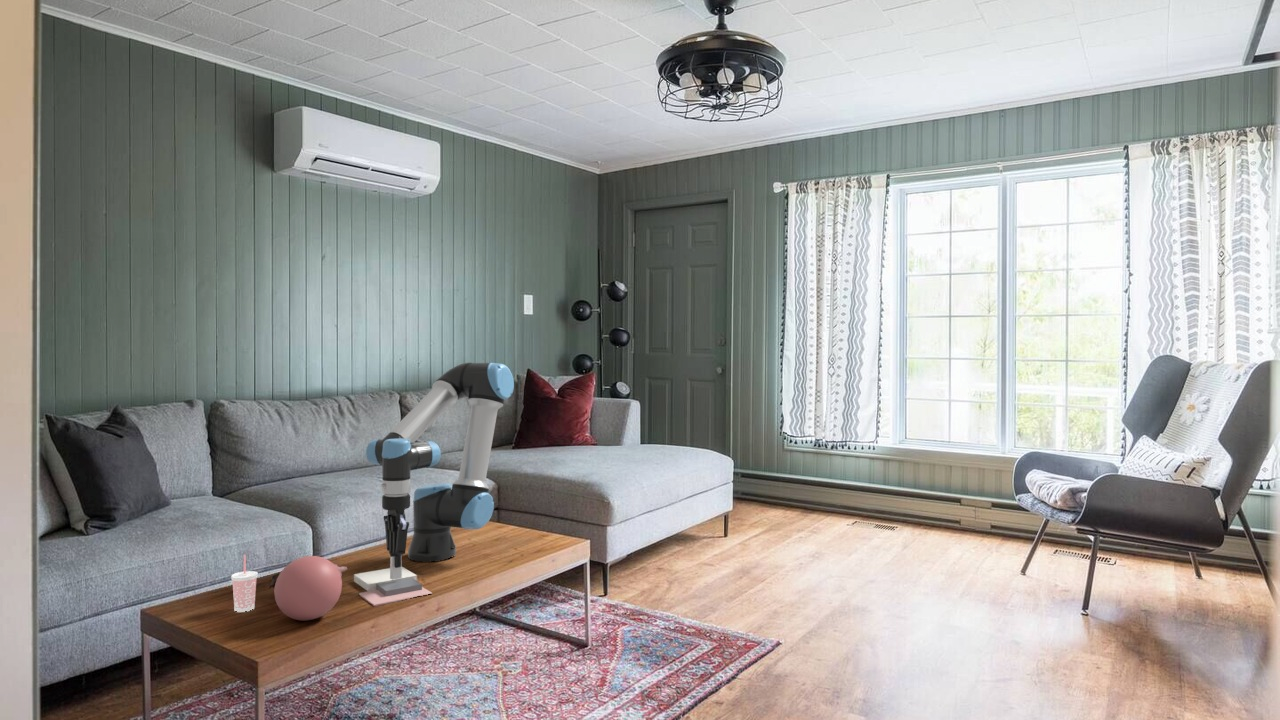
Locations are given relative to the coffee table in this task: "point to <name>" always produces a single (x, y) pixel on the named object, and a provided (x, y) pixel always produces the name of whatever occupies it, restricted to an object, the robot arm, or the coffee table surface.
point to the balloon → (308, 587)
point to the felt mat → (380, 599)
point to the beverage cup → (244, 589)
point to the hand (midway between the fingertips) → (395, 577)
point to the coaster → (398, 586)
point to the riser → (379, 578)
